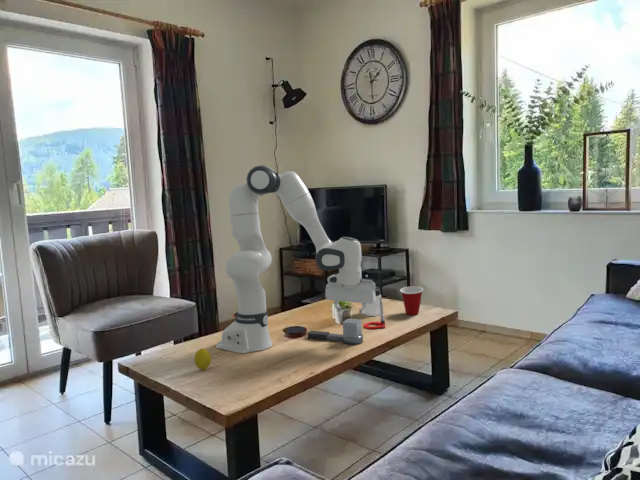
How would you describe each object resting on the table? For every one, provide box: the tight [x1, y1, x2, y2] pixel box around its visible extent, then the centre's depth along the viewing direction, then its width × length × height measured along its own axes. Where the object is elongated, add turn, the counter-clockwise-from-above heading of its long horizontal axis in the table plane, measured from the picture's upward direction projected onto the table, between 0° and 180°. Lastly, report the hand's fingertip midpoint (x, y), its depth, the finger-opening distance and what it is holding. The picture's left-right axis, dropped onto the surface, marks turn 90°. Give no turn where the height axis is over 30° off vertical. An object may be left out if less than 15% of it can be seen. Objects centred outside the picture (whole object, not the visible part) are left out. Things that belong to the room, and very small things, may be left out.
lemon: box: [194, 348, 212, 371], centre depth 177 cm, size 6×6×8 cm
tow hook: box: [363, 296, 386, 330], centre depth 220 cm, size 8×13×9 cm
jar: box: [363, 287, 382, 317], centre depth 240 cm, size 9×8×12 cm
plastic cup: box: [399, 286, 424, 316], centre depth 237 cm, size 11×11×12 cm
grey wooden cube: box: [342, 318, 363, 338], centre depth 200 cm, size 6×6×6 cm
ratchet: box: [307, 330, 364, 346], centre depth 204 cm, size 23×8×6 cm, turn 67°
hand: (350, 312), depth 200 cm, fingers open, 8 cm apart
